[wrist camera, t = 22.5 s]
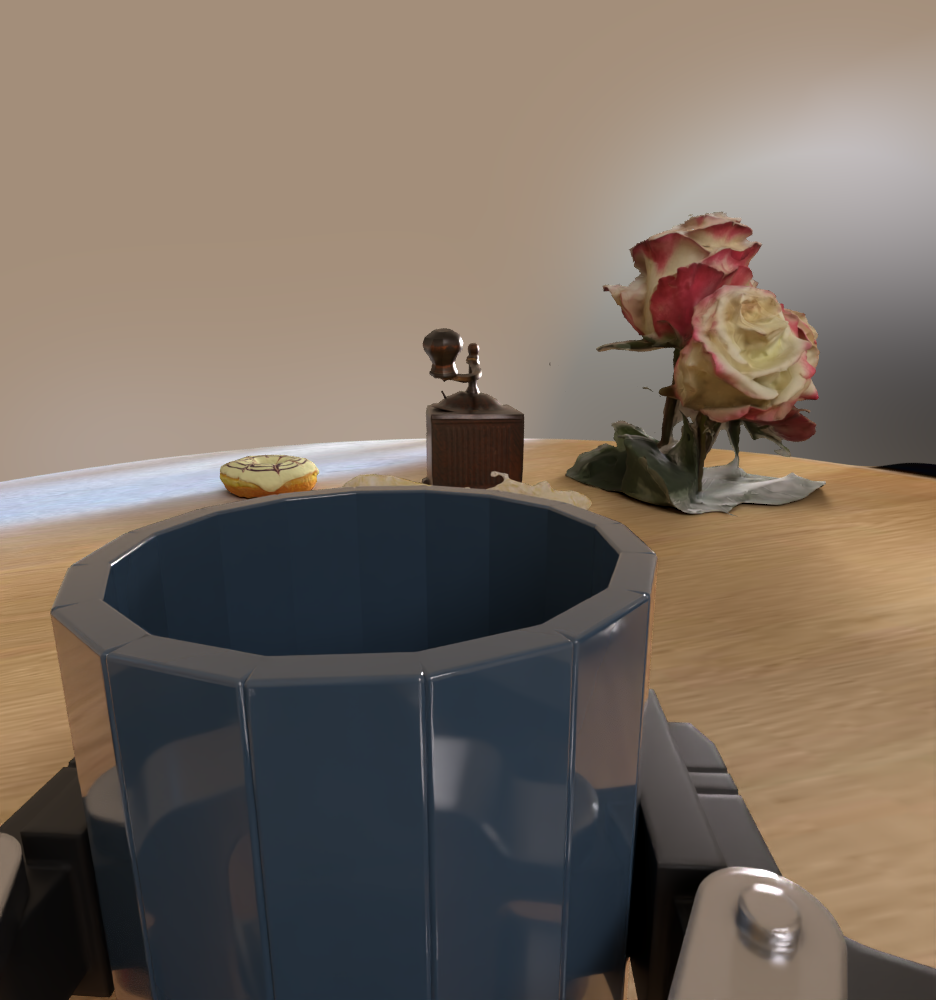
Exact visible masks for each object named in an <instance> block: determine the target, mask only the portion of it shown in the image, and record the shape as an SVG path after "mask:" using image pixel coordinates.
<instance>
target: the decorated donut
mask: <svg viewBox="0 0 936 1000" xmlns="http://www.w3.org/2000/svg"><path fill="white" fill-rule="evenodd" d="M318 474H319V470H318V468H317V467H316V466H315V465H314V463H312V462H311V461H309V460H308V459H306V458H300V457H294V456H287V455H259V456H248V457H244V458H241V459H239V460H235V461H232V462H229V463H226V464H225V465H223V466H221V468H220V479H221V481H222V482H223V483H224V485H225V487H226V489H227V490H228V491H229V492H231V493H232V494H235V495H237V496H239V497H244V496H245V497H246V498H253V497H263V496H269V495H274V494H275V495H278V494H281V493H291V492H302V491H310V490H311V489H312V488H313V487H314V486H315V484H316V482H317V475H318Z"/></svg>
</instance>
